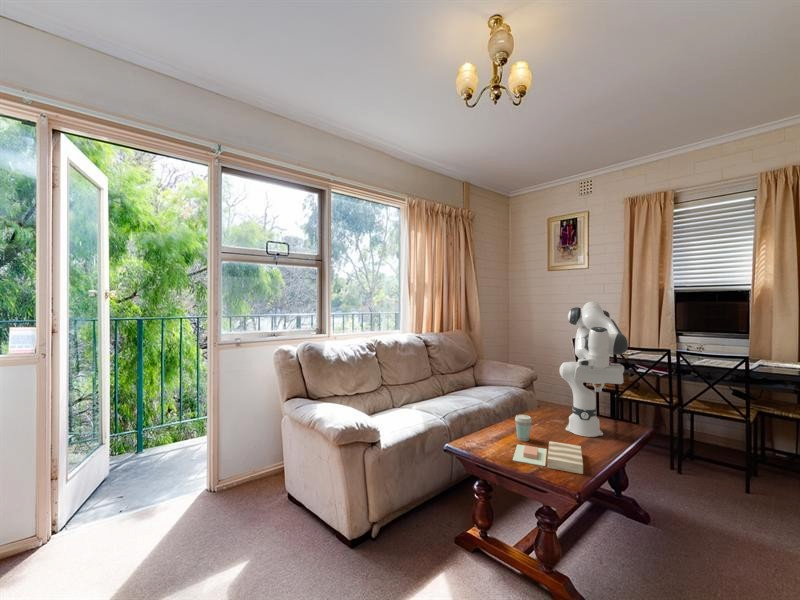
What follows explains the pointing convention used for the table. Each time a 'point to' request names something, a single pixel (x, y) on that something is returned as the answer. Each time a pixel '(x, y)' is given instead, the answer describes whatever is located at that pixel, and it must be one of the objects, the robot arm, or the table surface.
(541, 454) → the mat
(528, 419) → the coffee cup
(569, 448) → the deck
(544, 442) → the table surface
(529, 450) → the pink rectangular block
